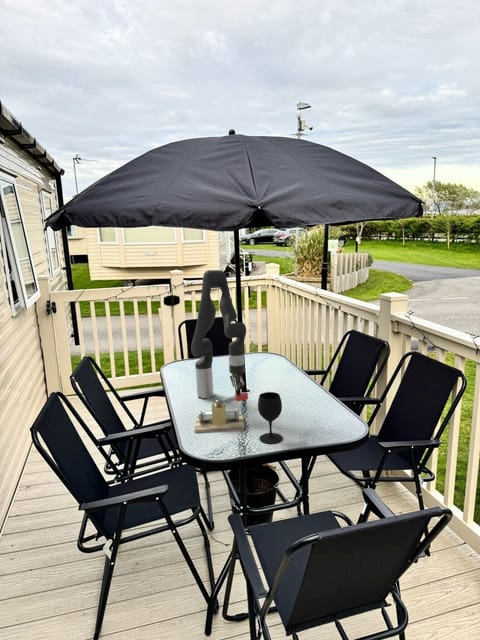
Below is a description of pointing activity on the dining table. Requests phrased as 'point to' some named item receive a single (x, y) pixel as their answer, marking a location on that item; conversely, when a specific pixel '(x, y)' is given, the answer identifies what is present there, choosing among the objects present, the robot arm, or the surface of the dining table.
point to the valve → (218, 415)
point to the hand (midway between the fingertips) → (238, 396)
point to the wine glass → (270, 415)
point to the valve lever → (232, 399)
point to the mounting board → (219, 425)
